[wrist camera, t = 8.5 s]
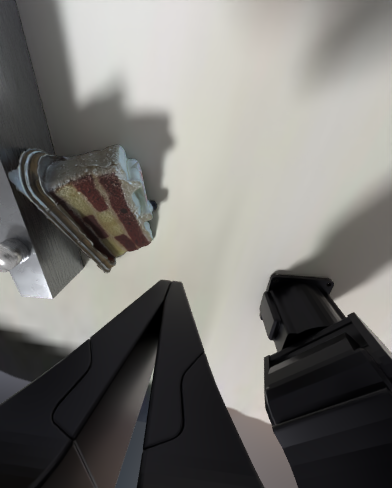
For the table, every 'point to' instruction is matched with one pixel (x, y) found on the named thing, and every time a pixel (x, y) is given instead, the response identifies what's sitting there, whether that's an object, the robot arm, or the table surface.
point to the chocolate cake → (90, 199)
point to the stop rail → (7, 159)
